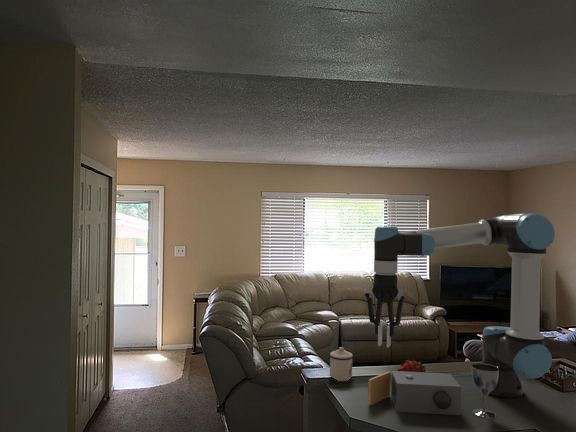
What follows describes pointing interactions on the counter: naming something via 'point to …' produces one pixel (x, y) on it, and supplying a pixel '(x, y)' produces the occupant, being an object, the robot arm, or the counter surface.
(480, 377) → the wine glass
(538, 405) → the counter surface
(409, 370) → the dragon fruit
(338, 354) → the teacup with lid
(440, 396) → the camera case
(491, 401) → the counter surface
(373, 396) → the door
